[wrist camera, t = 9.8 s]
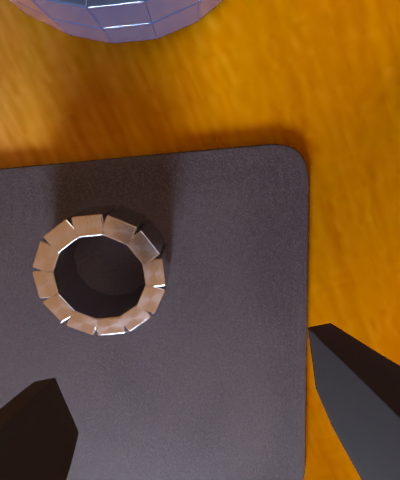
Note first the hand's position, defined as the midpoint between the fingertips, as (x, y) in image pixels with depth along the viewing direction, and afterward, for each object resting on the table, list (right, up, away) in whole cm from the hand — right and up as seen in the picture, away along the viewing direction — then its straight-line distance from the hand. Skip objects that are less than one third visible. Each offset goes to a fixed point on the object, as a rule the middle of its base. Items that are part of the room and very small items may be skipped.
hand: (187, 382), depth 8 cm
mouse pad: (-4, -4, +11) cm, 12 cm away
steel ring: (-4, +3, +8) cm, 10 cm away
